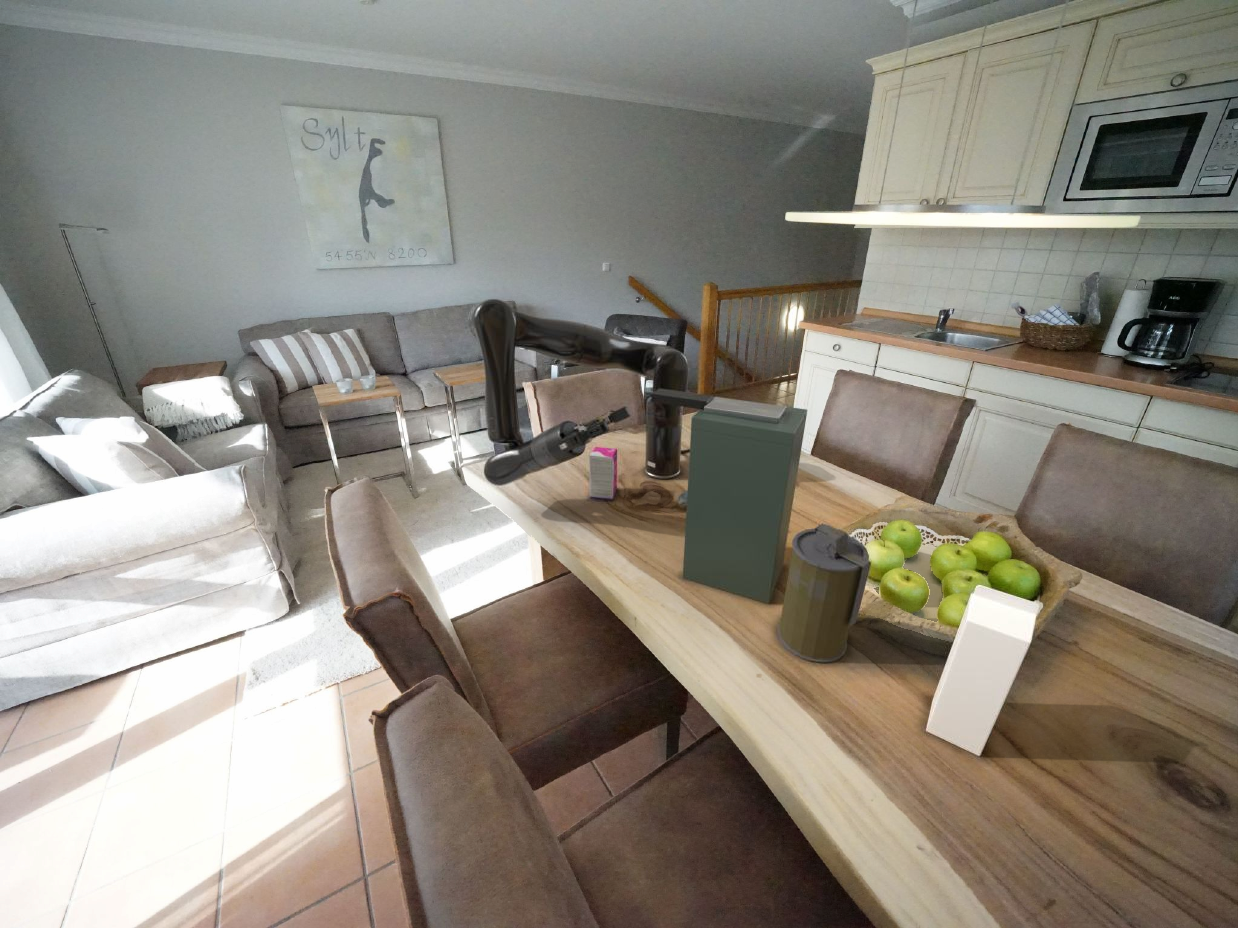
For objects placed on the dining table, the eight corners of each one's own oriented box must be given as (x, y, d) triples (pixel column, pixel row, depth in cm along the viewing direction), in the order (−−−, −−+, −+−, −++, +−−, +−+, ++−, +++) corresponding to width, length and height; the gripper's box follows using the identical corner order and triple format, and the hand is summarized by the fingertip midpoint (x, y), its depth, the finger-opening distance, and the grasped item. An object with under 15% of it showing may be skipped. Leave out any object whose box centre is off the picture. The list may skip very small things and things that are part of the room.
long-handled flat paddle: (661, 394, 92) (661, 386, 92) (785, 412, 83) (786, 403, 82) (648, 404, 87) (648, 395, 87) (778, 424, 78) (779, 414, 78)
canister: (764, 633, 82) (779, 528, 73) (802, 606, 88) (821, 506, 79) (824, 676, 74) (850, 564, 66) (862, 643, 80) (890, 536, 71)
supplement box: (613, 501, 122) (612, 457, 117) (589, 498, 123) (587, 455, 118) (617, 489, 127) (617, 447, 122) (594, 487, 128) (593, 446, 123)
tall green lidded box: (703, 545, 105) (714, 396, 91) (782, 566, 98) (807, 409, 84) (682, 578, 95) (691, 417, 81) (768, 604, 88) (794, 433, 75)
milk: (932, 700, 70) (978, 570, 61) (984, 723, 67) (1041, 589, 58) (925, 732, 66) (973, 597, 57) (980, 758, 63) (1041, 619, 53)
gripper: (528, 440, 98) (589, 411, 89) (568, 417, 109) (625, 390, 100) (546, 474, 99) (608, 449, 90) (584, 448, 111) (642, 423, 101)
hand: (617, 418), depth 95 cm, fingers open, 8 cm apart
